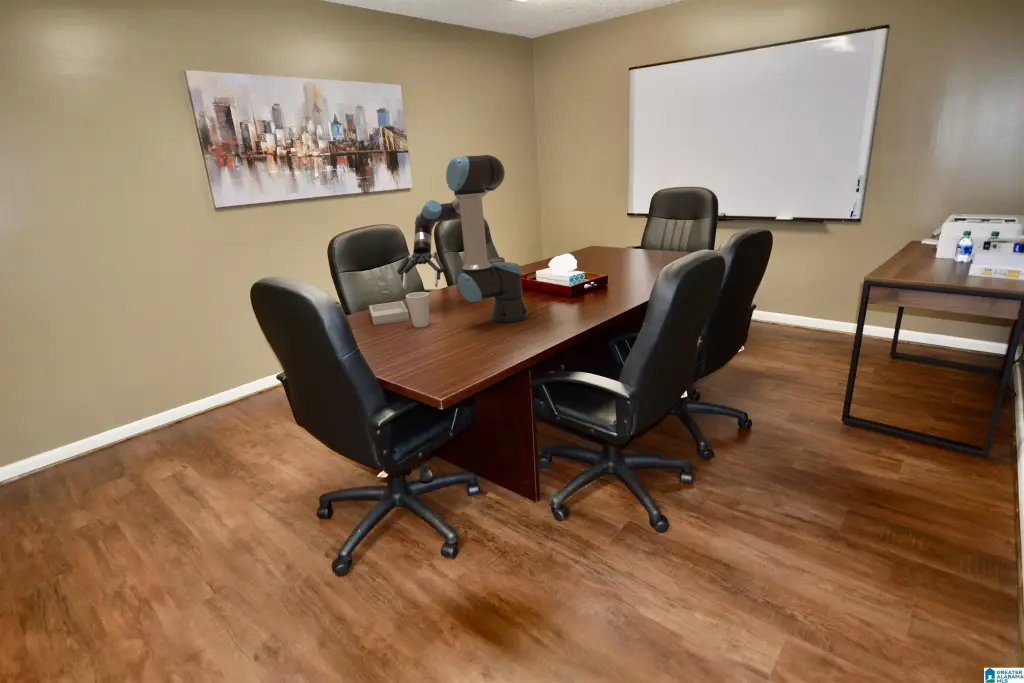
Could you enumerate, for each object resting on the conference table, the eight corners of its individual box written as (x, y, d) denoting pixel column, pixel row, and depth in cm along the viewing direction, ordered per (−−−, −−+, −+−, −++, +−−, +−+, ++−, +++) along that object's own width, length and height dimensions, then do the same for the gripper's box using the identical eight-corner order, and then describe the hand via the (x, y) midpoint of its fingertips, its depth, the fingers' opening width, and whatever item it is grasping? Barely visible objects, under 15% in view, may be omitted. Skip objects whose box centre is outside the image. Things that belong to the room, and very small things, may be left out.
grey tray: (409, 320, 227) (408, 311, 226) (373, 325, 223) (372, 316, 222) (403, 309, 245) (402, 300, 244) (370, 314, 241) (368, 305, 240)
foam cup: (427, 328, 214) (423, 297, 210) (406, 328, 216) (402, 297, 212) (435, 321, 223) (431, 291, 218) (414, 321, 225) (411, 292, 220)
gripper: (452, 248, 235) (450, 289, 226) (396, 251, 237) (393, 292, 227) (449, 238, 229) (447, 280, 219) (392, 241, 230) (388, 283, 221)
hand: (420, 286), depth 223 cm, fingers open, 13 cm apart
